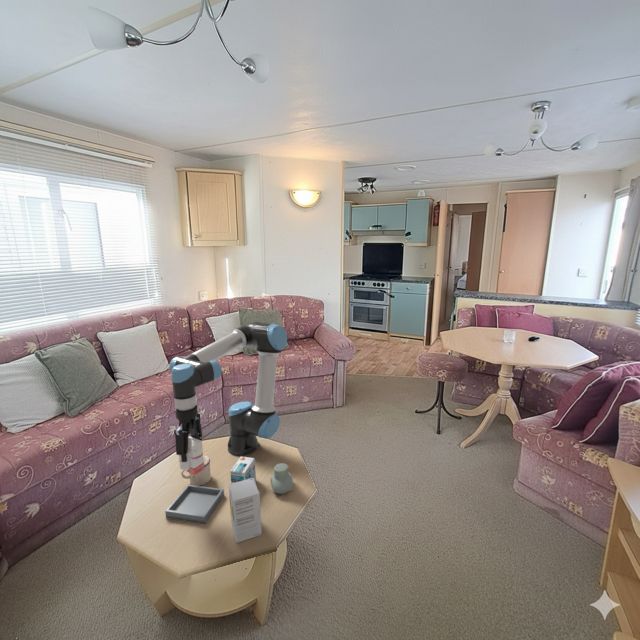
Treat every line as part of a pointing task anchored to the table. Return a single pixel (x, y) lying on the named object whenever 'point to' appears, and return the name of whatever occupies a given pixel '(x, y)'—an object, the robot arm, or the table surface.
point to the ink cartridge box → (194, 456)
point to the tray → (195, 504)
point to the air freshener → (281, 479)
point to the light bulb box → (243, 470)
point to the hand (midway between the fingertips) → (191, 462)
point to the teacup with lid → (200, 474)
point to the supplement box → (245, 509)
